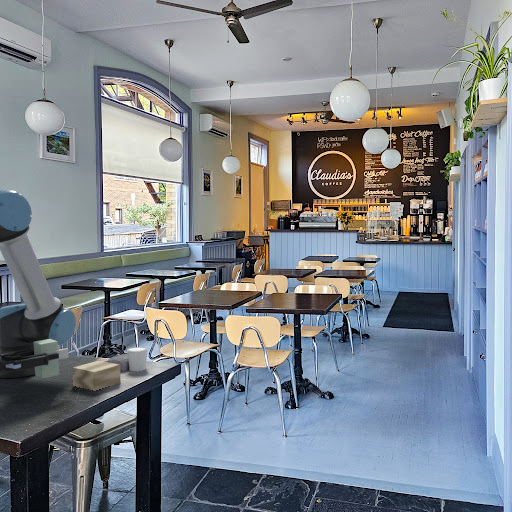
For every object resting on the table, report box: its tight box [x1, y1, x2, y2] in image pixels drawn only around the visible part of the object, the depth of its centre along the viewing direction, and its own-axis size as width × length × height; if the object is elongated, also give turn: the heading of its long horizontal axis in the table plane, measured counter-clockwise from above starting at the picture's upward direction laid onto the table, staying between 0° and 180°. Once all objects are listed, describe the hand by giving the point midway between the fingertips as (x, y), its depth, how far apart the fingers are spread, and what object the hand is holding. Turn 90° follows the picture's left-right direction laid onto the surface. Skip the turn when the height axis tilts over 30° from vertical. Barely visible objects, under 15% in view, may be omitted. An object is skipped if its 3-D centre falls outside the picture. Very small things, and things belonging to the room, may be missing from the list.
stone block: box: [103, 353, 130, 372], centre depth 190 cm, size 12×5×10 cm
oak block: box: [72, 360, 122, 392], centre depth 169 cm, size 10×10×6 cm
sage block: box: [34, 339, 60, 379], centre depth 159 cm, size 5×5×10 cm
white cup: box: [126, 346, 148, 372], centre depth 186 cm, size 7×7×7 cm
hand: (63, 351), depth 163 cm, fingers closed on sage block, 5 cm apart
